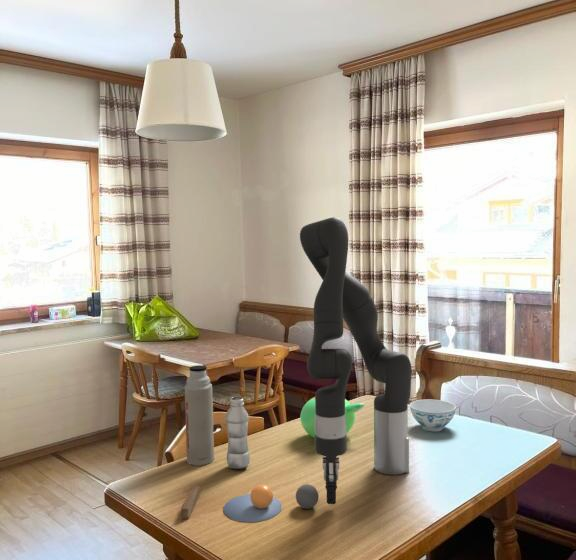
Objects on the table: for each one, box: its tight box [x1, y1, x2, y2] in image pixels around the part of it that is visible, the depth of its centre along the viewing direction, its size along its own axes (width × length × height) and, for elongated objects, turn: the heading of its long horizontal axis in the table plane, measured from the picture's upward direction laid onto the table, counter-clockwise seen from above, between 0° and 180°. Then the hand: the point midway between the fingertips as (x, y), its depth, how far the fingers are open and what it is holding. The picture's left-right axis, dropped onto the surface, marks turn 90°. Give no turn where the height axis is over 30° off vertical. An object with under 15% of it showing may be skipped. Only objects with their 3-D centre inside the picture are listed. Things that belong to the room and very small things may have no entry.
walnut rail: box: [181, 485, 201, 520], centre depth 138 cm, size 2×12×2 cm, turn 177°
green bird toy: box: [299, 396, 365, 438], centre depth 183 cm, size 18×17×15 cm
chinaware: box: [409, 398, 457, 432], centre depth 191 cm, size 15×15×8 cm
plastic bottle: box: [225, 396, 251, 470], centre depth 161 cm, size 6×7×20 cm
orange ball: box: [250, 484, 274, 509], centre depth 137 cm, size 6×6×6 cm
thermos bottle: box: [184, 364, 215, 466], centre depth 166 cm, size 8×8×28 cm
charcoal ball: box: [295, 483, 319, 510], centre depth 137 cm, size 6×6×6 cm
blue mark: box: [223, 493, 282, 523], centre depth 137 cm, size 14×14×1 cm
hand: (331, 502), depth 136 cm, fingers closed
